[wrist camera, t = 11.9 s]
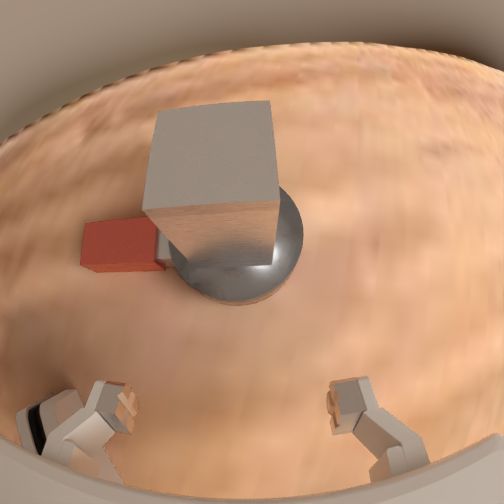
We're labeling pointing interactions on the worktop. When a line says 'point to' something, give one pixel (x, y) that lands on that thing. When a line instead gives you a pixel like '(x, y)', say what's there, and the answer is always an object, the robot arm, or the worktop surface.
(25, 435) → the grey black slotted block
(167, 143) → the grey block
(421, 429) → the worktop surface
